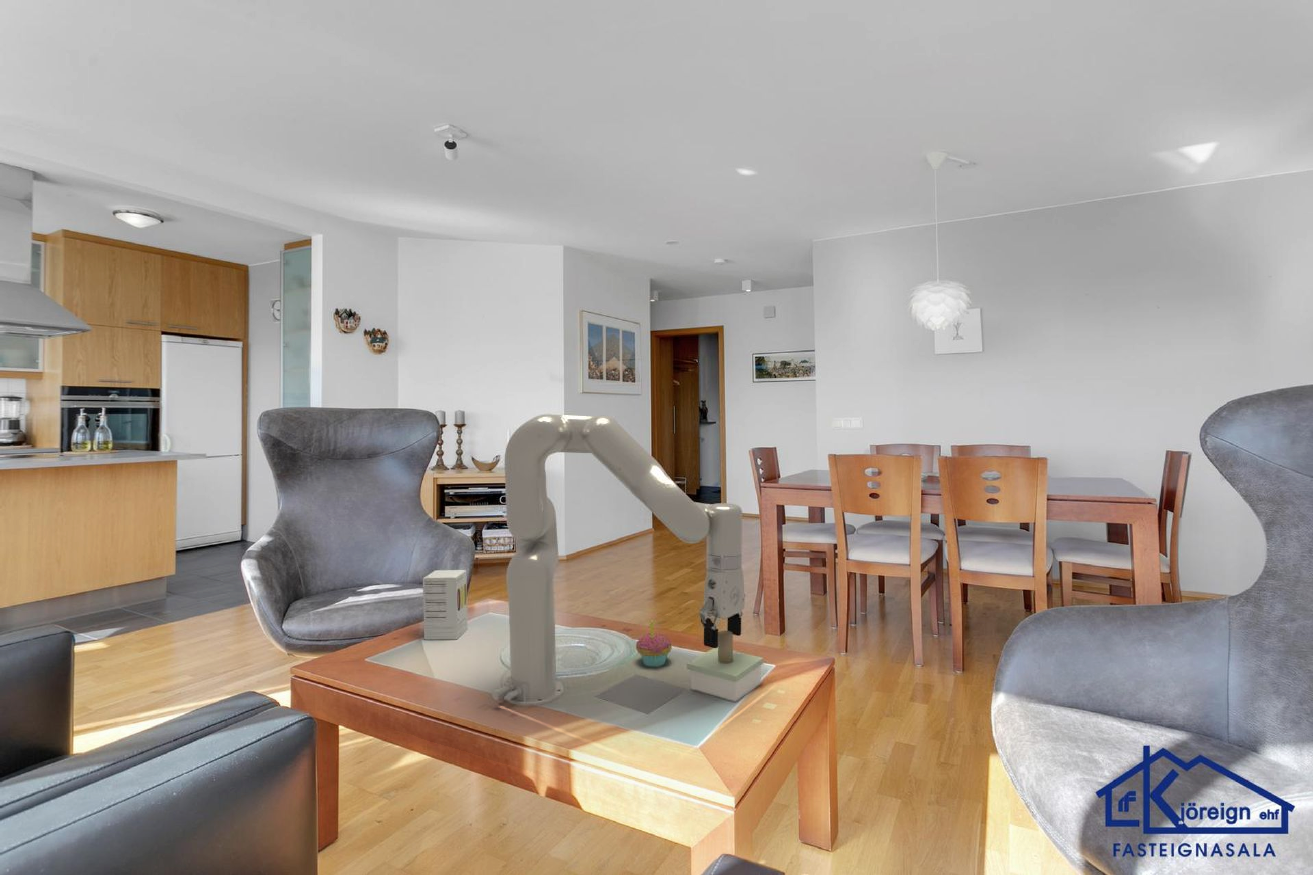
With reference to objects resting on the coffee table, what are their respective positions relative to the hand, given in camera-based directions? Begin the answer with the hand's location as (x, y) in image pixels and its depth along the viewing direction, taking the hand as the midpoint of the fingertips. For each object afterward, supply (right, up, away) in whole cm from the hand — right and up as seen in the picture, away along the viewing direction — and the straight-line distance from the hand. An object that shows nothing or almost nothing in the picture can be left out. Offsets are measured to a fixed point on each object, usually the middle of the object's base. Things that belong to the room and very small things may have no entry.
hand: (722, 640), depth 139 cm
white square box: (+1, -11, 0) cm, 11 cm away
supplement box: (-72, -11, +38) cm, 82 cm away
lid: (+1, -6, 0) cm, 6 cm away
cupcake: (-15, -11, +15) cm, 23 cm away
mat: (-17, -11, -2) cm, 21 cm away
